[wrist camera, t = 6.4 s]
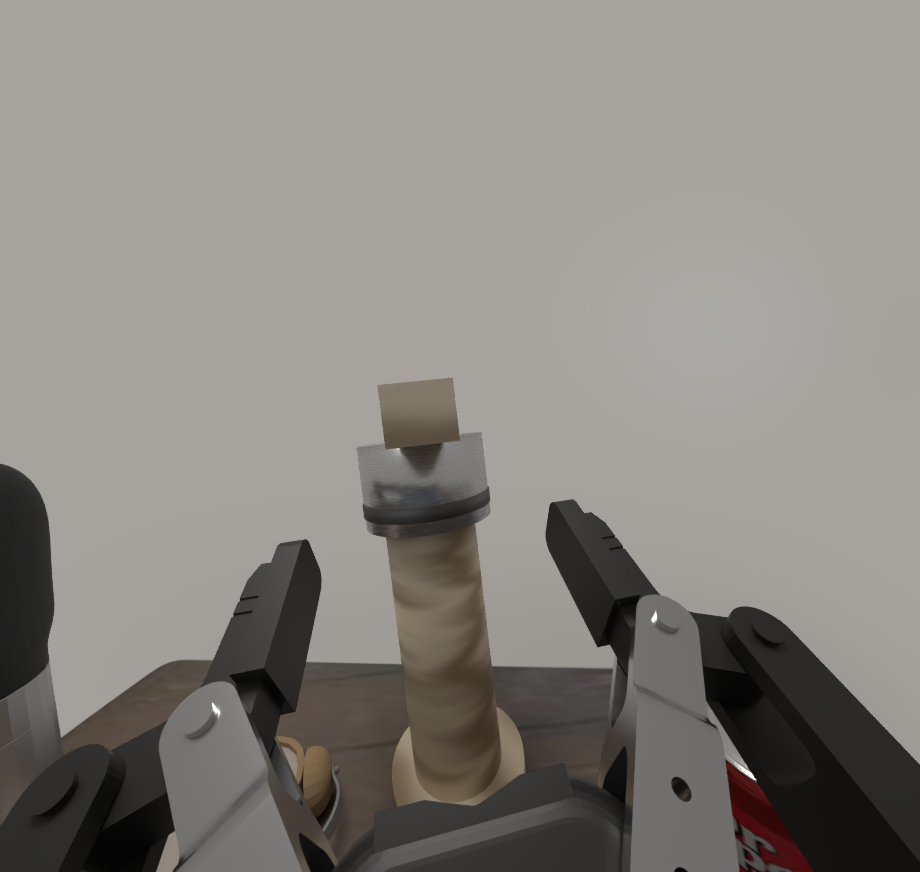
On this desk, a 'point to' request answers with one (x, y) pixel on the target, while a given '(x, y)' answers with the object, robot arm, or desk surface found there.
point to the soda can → (756, 819)
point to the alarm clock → (313, 782)
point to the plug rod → (418, 413)
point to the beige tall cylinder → (440, 620)
